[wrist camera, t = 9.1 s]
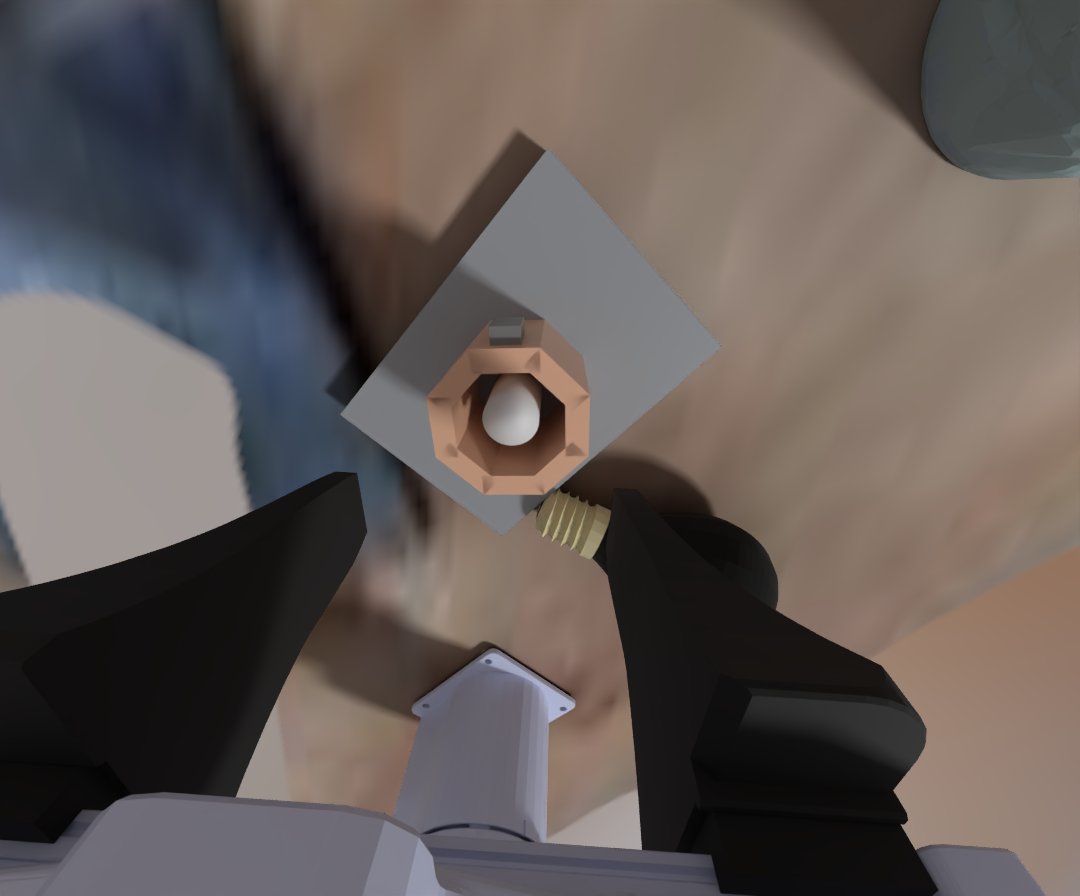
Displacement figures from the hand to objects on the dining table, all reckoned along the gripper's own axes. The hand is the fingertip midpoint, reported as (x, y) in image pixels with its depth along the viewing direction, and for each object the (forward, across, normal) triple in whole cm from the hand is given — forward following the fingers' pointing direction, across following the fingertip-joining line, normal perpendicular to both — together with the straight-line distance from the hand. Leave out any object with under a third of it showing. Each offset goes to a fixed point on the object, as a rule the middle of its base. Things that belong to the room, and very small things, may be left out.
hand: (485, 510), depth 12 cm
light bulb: (+10, -7, +7) cm, 14 cm away
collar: (+8, 0, -1) cm, 8 cm away
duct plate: (+9, 0, -1) cm, 9 cm away
